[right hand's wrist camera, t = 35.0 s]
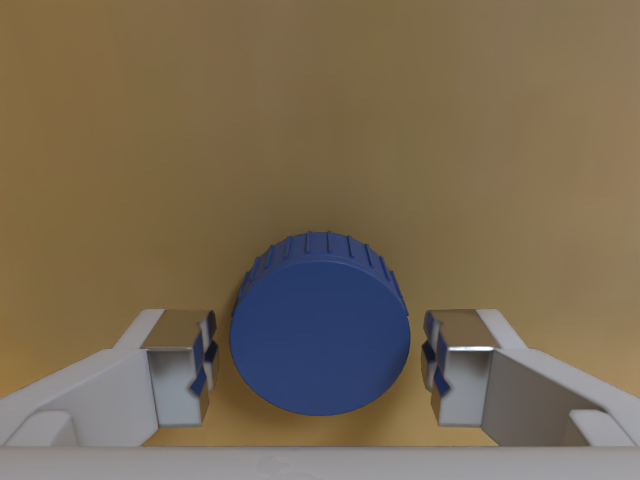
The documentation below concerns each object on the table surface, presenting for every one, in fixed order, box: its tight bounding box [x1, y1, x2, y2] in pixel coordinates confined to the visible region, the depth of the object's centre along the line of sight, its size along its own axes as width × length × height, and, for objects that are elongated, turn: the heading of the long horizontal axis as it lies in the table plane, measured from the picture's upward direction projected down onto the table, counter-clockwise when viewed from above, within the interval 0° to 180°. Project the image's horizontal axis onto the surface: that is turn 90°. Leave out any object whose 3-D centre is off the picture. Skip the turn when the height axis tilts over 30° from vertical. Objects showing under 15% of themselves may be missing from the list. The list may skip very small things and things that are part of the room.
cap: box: [229, 231, 410, 416], centre depth 11 cm, size 4×4×2 cm
